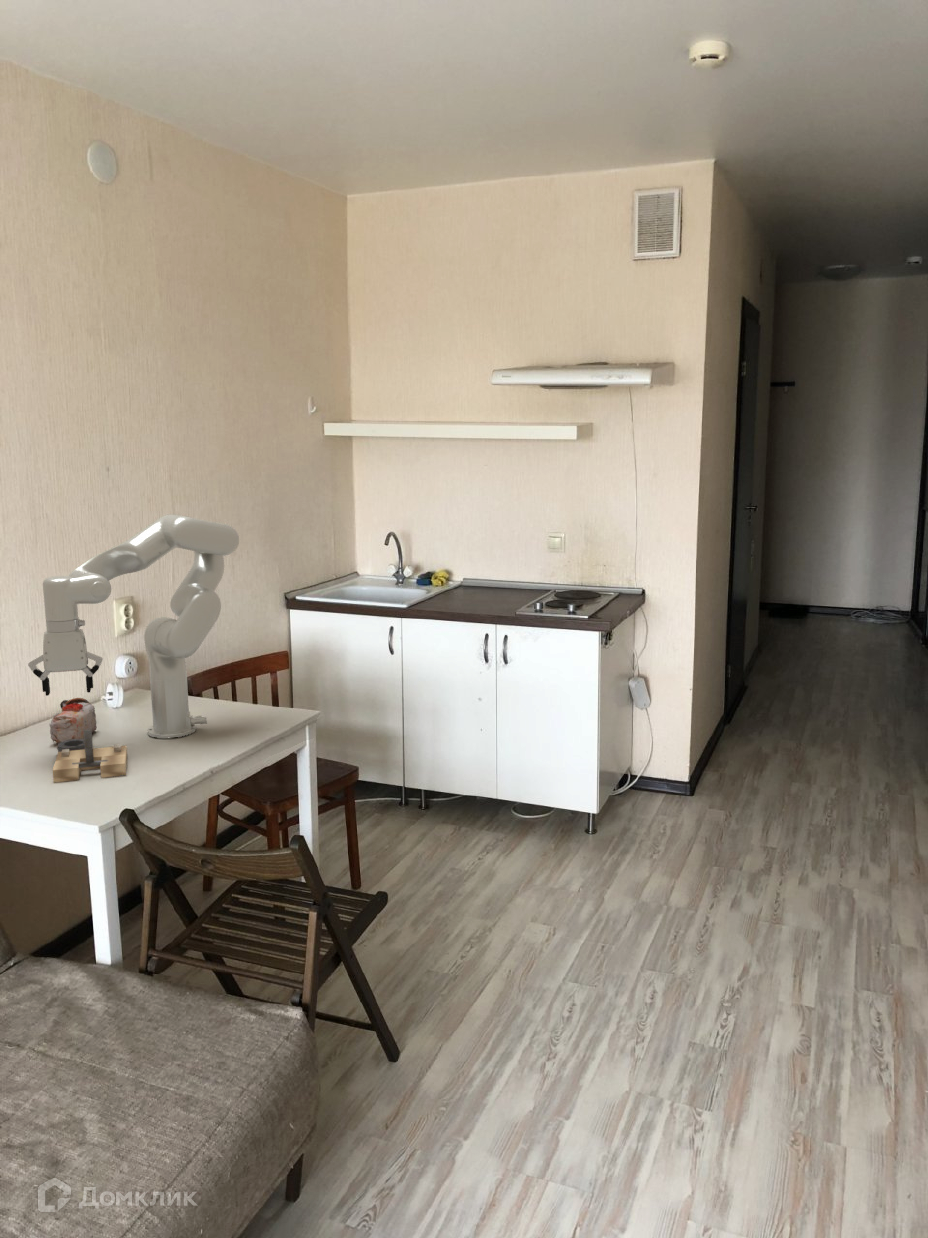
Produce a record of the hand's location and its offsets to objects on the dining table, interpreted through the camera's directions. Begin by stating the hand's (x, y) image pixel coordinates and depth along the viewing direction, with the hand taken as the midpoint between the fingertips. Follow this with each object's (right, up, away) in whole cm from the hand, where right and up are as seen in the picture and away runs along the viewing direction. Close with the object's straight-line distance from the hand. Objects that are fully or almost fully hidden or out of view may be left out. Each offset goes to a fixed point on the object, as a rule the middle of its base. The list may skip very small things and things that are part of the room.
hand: (68, 692), depth 248 cm
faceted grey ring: (0, -16, +3) cm, 16 cm away
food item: (-5, -14, +16) cm, 22 cm away
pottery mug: (-10, -11, +30) cm, 34 cm away
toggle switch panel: (+9, -18, -8) cm, 21 cm away
